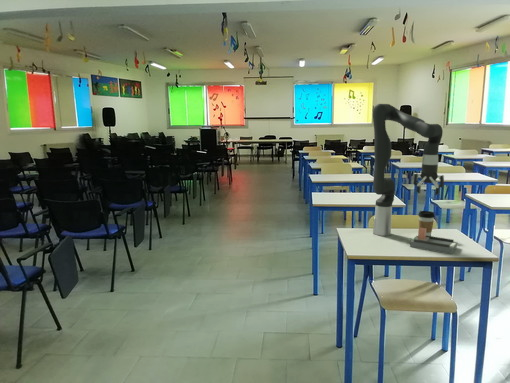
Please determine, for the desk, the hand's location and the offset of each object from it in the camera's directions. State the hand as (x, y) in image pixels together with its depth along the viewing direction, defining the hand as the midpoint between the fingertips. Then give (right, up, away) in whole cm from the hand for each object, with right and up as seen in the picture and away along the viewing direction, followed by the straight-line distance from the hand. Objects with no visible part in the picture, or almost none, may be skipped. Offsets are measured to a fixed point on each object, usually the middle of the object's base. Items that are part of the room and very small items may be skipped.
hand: (427, 194), depth 201 cm
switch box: (+3, -28, +1) cm, 28 cm away
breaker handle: (-1, -24, +4) cm, 25 cm away
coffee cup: (+7, -25, +19) cm, 32 cm away
